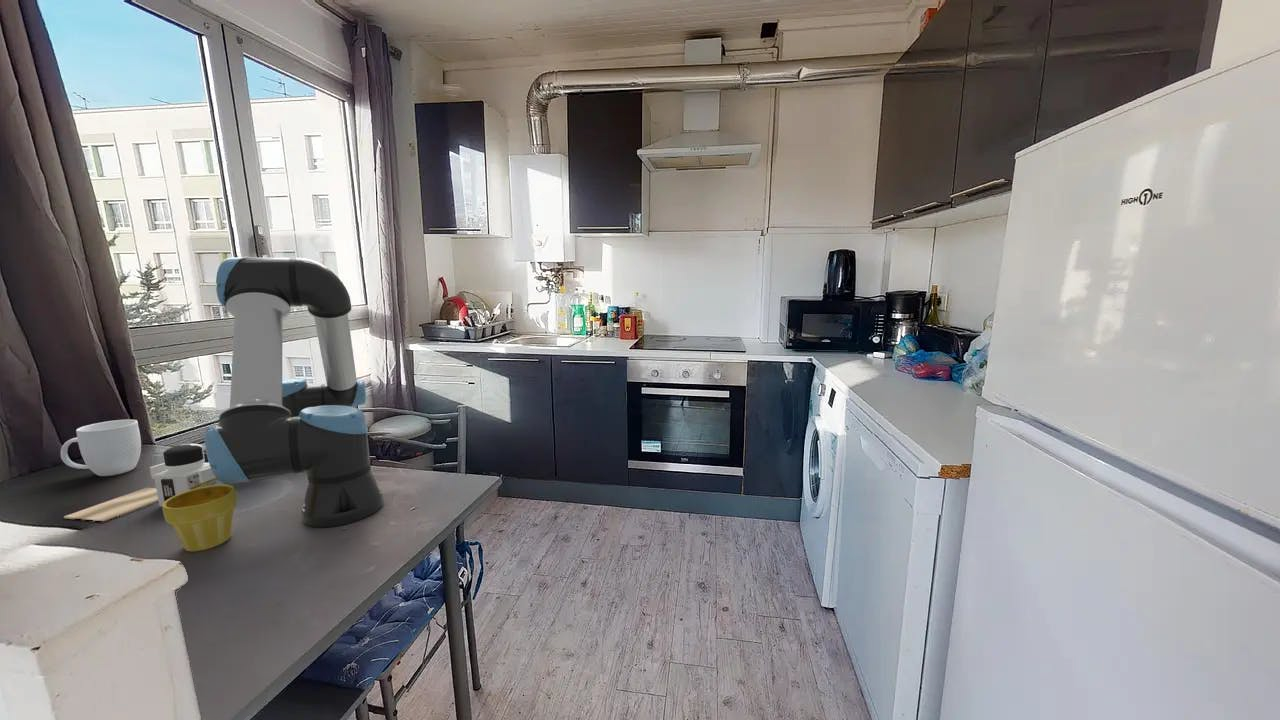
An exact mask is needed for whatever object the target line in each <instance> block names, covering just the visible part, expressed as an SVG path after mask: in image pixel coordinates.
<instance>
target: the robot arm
mask: <svg viewBox="0 0 1280 720" xmlns="http://www.w3.org/2000/svg"><path fill="white" fill-rule="evenodd" d="M215 278H216V279H215V284H216V287H215V288H216V297H217V299H218V302H219V304H220V305H221V306H222V307H224V308H225V309H226V311H227V312H228V313H229V314H230V315H231V316H233V317H234V319H233V320H234V321H233V336H232V337H233V339H232V356H231V358H232V359H231V361H232V362H231V378H230V381H231V383H230V396H229V397H230V399H229V407H228V408H226V409H225V410H224V411H222V412H220V414H219V417H218V425H215V424H214V425H212V426H209V427H207V428H206V429H205V432H204V447H205V449H203V452H204V459H205V461H204V462H203V463H209V464H210V467H208V468H205V469H203V470H200V471H198V474H199V481H200V483H203V482H206V481H209V480H211V479H214V478H217V479H218V480H219V481H220V483H223V484H236V483H243V482H246V483H250V482H252V481H257V480H264V479H269V478H275V477H276V478H277V477H282V476H287V475H288V476H289V475H295V474H299V473H306V475H307V484H308V485H307V488H306V491H305V496H304V502H303V503H304V504H303V505H302V508H301V519H302V523H303V524H305V525H306V526H309V527H313V528H328V527H329V528H330V527H338V526H342V525H347V524H350V523H354V522H357V521H360V520H362V519H365V518H367V517H369V516H371V515H372V514H375V513H376V512H377V511H379V510H380V509H381V508H382V506H383V504H384V498H383V497H384V496H383V492H382V490H381V488H380V487H379V486H378V483H377V480H376V478H375V477H374V474H373V472H372V468H371V456H370V448H369V439H368V432H369V429H368V427H367V422H366V421H367V420H366V415H365V413H364V411H362V410H361V409H359V408H357V406H363V405H365V404H366V403H367V391H366V390H367V389H366V382H365V381H364V380H358V379H357V372H356V365H355V358H354V350H353V344H352V343H353V342H352V341H353V340H352V337H351V329H350V322H349V321H350V320H349V314H350V313H351V311H352V302H351V297H350V295H349V292H348V289H347V287H346V286H345V284H344V282H342V280H341V279H340V278H339V277H338V275H336V274H335V273H334V272H333V271H332V269H329V268H328V267H327V266H326V265H324V264H322V263H320V262H318V261H315V260H313V259H309V258H305V257H296V258H295V257H290V258H289V257H255V256H254V257H252V256H241V257H237V256H236V257H228V258H225V259H224V260H223V261H221V263H220V265H219V266H218V268H217V273H216V277H215ZM305 306H306V307H307V311H308V313H309V314H310V315H311V316H313V318H314V322H315V328H316V334H317V339H318V345H319V350H320V356H321V361H322V366H323V370H324V371H323V372H324V377H325V382H326V383H322V384H321V383H319V384H308V383H307V380H306V379H304V378H289V379H284V380H283V320H284V319H286V318H287V317H289V315H290V313H291V307H305ZM166 470H168V469H166V467H165V462H163V463H160V464H155V465H153V466H150V467H149V471H150V477H151V480H152V479H153V480H155V479H154V475H155V474H158V473H160V472H163V471H166Z"/></svg>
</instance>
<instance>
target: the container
mask: <svg viewBox="0 0 1280 720" xmlns="http://www.w3.org/2000/svg"><path fill="white" fill-rule="evenodd" d="M203 450H204V447H203V445H201V444H199V443H185V444H179V445H178V444H177V445H175V446H171V447H170V448H168V449H165V450H164V451H163V459H164V460H163V461H164V463H165V467H166V469H168V470H166V471H163V472H160V473H158V474H155V475H154V479H153V480H154V484H155V485H154V486H155V488H156V490H157V496H158V501H159V502H158V506H159V507H160V508H162V504H163V503H164V502H165V501H166V500H168V499H169V498H171V497H173V496H175V495H178V494H180V493H183V492H186V491H189V490H193V489H196V488H201V487H206V486H212V485H221V481H219V480H218V479H217V478H214V479H211V480H209V481H206V482H203V483H200V481H199V474H198V471H200V470H203V469H205V468H208V467H210V464H209V462H208V463H203V462H204V461H205V459H204V452H203Z"/></svg>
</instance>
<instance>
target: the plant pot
mask: <svg viewBox="0 0 1280 720" xmlns="http://www.w3.org/2000/svg"><path fill="white" fill-rule="evenodd" d="M237 505H238V496H237V491H236V487H235V486H233V485H230V484H220V485H212V486H206V487H201V488H196V489H193V490H189V491H186V492H183V493H180V494H178V495H175V496H173V497H171V498H169V499H168V500H166V501H165V502H164V503H163V504H162V507H161V508H162V509H161V510H162V514H163V518H164V522H165V523H167V524H168V525H171V527H172V528H173V529H174V532H175V533H176V535H177V537H178V539H179V541H180V542H181V545H182V547H183V549H184V550H185V551H186V552H192V553H193V552H200V551H206V550H209V549H212V548H215V547H217V546H220V545H222V544H224V543H225V542H226V541H228V540H229V539H230V538H231V537H232V527H233V526H232V525H233V516H234V509H235V507H236V506H237Z"/></svg>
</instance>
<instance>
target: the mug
mask: <svg viewBox="0 0 1280 720" xmlns="http://www.w3.org/2000/svg"><path fill="white" fill-rule="evenodd" d="M75 432H76V437H73V438H70V439H68V440H67V441H65V442H64V444H62V446H61V448H60V458H61V460H62V461H63V463H64V464H65V465H66V466H68V467H70V468H72V469H79V470H80V469H82V470H87V469H89V470H90V471H91V472H93V473H94V474H95V476H96V475H97V476H98V477H110V476H116V475H118V476H119V475H122V474H125V473H128V472H131V471H132V470H134V468H136V466H137V464H138V462H139V461H140V456H141V451H142V438H141V431H140V427H139V422H138V419H117V420H116V419H115V420H108V421H102V422H97V423H91V424H87V425H83V426H81V427H78V428H77V429H76V430H75ZM72 443H77V444H78V448H79V451H80V454H81V457H82V459H83V461H84V463H85V464H80V463H77V462H74V461H72V460H71V459H70V457H69V453H68V448H69V446H70V445H72Z"/></svg>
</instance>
